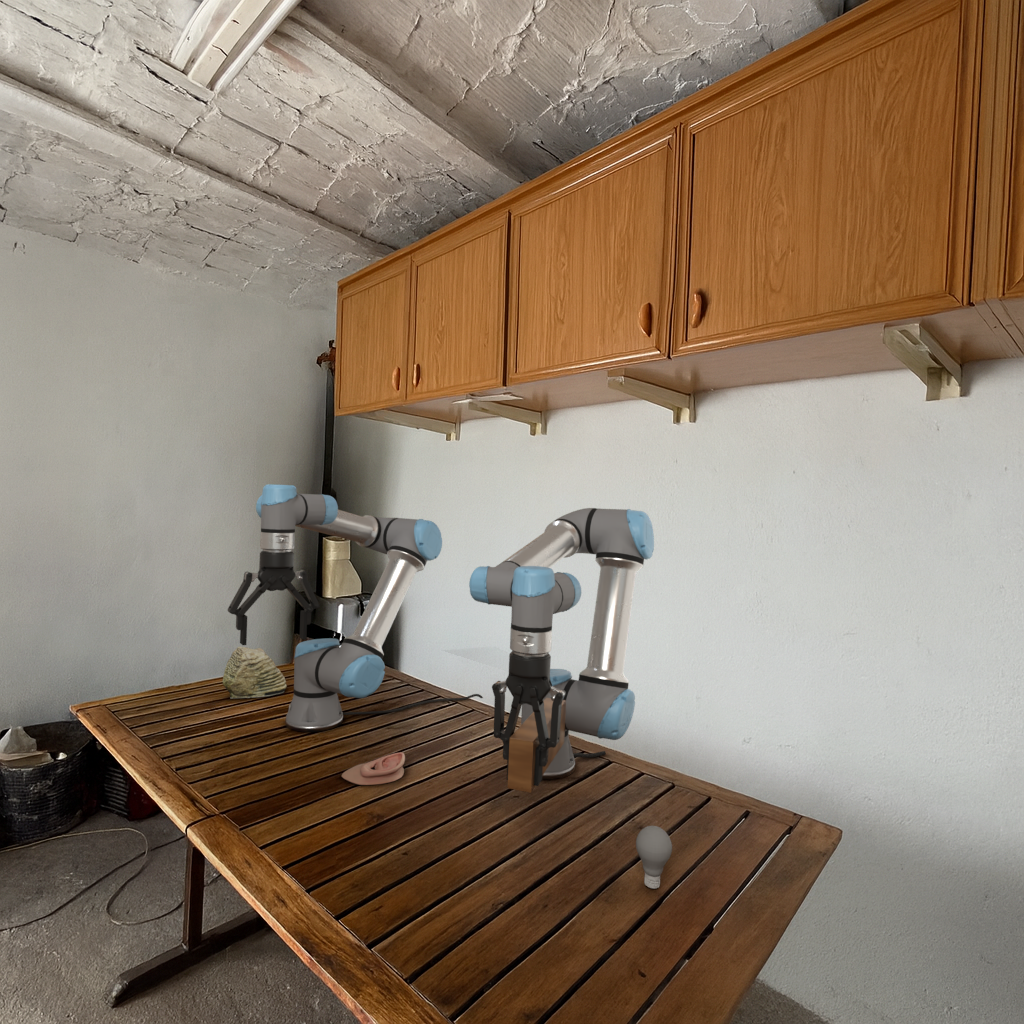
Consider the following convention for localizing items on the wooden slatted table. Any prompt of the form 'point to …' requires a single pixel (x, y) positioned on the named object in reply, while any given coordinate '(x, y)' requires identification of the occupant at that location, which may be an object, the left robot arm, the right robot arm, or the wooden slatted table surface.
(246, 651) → the fossil
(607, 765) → the wooden slatted table surface
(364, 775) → the anatomical model
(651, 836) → the light bulb
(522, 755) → the bar
